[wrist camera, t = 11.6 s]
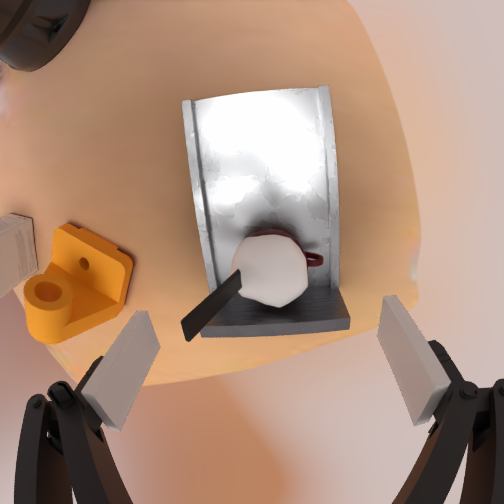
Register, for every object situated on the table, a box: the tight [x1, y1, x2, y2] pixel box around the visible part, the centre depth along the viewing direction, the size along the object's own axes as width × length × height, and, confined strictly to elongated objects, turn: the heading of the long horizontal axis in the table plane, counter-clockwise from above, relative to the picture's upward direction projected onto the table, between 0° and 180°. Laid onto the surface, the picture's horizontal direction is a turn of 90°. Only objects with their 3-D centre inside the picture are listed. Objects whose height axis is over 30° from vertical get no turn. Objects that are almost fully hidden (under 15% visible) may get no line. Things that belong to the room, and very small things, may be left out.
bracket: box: [24, 223, 133, 344], centre depth 24 cm, size 11×7×12 cm, turn 65°
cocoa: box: [181, 228, 324, 342], centre depth 20 cm, size 10×6×12 cm, turn 74°
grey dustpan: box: [182, 85, 350, 337], centre depth 22 cm, size 20×13×7 cm, turn 6°
